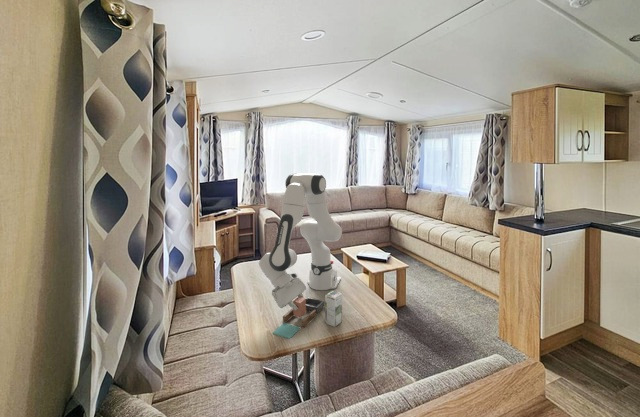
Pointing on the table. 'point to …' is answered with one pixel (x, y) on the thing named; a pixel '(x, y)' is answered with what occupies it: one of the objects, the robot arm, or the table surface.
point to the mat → (286, 330)
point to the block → (300, 307)
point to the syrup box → (333, 308)
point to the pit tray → (314, 304)
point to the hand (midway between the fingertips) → (300, 306)
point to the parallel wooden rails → (304, 321)
